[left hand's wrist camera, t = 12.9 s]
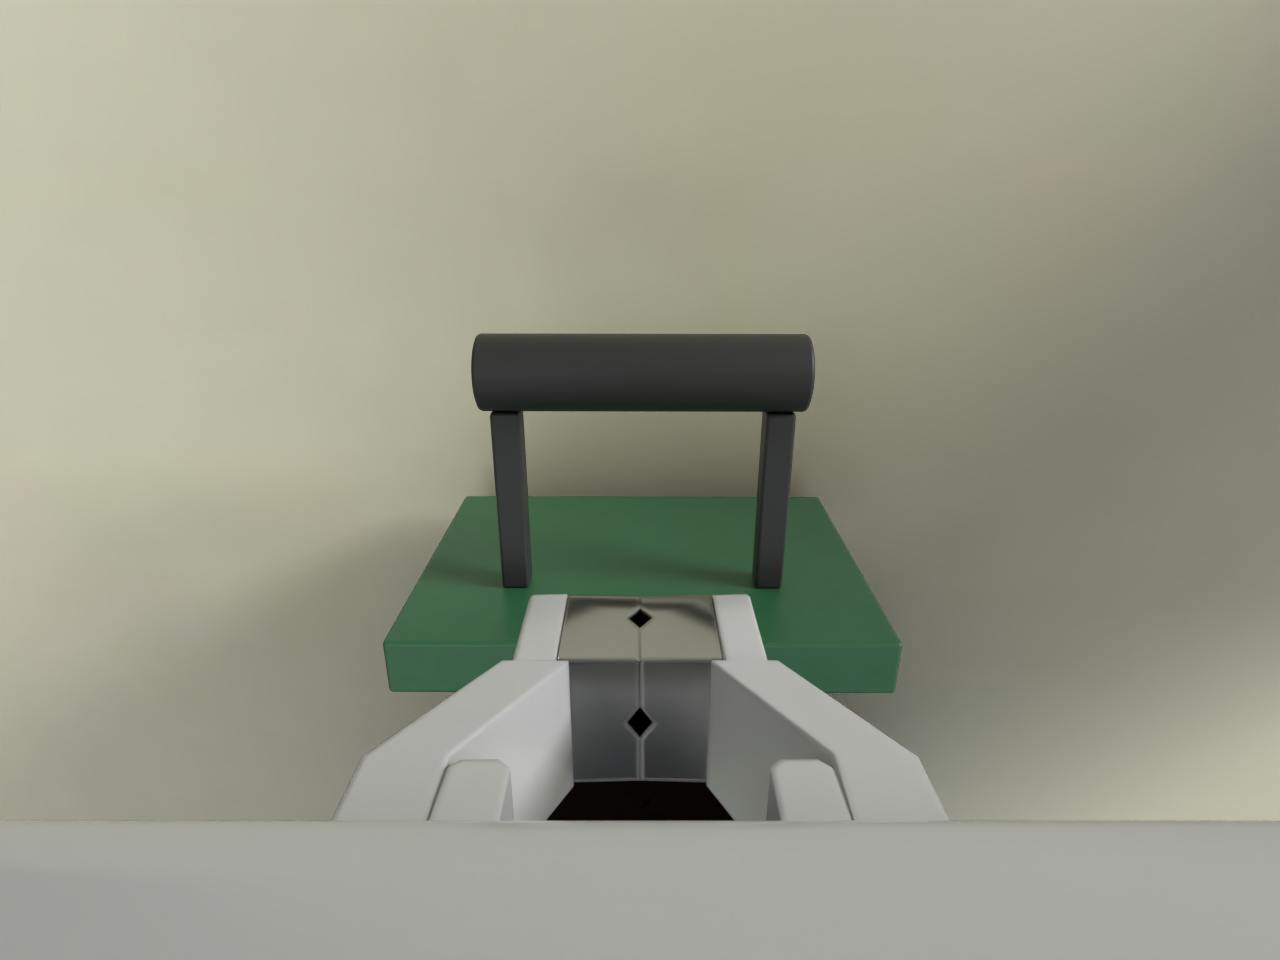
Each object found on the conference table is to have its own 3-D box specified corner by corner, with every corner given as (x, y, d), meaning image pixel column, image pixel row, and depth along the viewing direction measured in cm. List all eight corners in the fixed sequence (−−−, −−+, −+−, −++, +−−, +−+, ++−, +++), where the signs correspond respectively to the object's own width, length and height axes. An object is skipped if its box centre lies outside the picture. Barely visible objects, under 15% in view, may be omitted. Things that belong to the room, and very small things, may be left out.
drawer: (447, 299, 19) (339, 360, 12) (837, 299, 19) (948, 361, 12) (496, 835, 26) (444, 1069, 19) (785, 836, 26) (837, 1070, 19)
